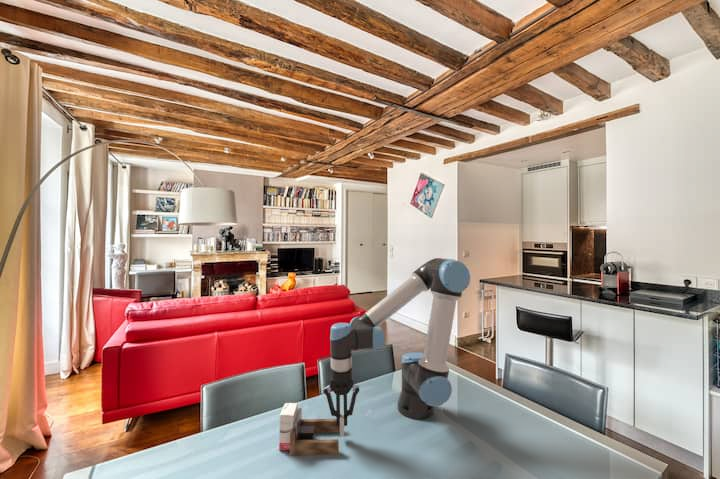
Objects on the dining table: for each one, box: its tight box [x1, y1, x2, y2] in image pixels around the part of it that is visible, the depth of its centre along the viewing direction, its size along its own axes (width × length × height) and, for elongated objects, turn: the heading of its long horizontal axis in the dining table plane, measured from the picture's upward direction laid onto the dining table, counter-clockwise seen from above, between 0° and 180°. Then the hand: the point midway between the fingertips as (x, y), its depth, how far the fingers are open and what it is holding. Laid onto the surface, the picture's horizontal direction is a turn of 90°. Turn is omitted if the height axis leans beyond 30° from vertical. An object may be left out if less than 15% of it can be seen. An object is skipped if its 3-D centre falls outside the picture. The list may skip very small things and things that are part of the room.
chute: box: [289, 418, 340, 456], centre depth 108 cm, size 16×14×7 cm
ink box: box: [278, 402, 299, 451], centre depth 108 cm, size 9×5×12 cm, turn 2°
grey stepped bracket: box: [294, 407, 315, 440], centre depth 108 cm, size 6×10×9 cm, turn 2°
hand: (342, 434), depth 109 cm, fingers closed
